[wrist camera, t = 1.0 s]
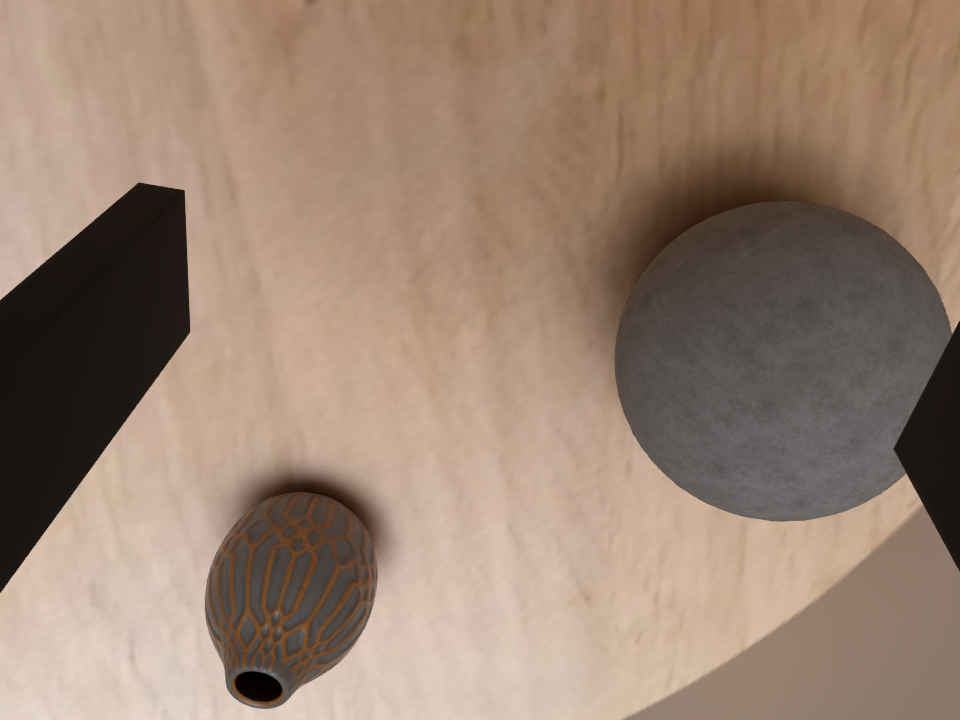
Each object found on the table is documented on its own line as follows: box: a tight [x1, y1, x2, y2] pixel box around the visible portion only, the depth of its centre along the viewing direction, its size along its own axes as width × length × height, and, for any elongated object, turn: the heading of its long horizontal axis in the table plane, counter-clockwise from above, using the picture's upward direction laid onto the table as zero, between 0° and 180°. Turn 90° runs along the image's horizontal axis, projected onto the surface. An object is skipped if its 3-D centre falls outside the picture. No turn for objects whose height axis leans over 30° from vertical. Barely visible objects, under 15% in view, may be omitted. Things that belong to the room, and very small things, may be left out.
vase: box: [205, 492, 378, 709], centre depth 35 cm, size 7×7×9 cm
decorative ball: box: [615, 201, 952, 521], centre depth 27 cm, size 10×10×10 cm
